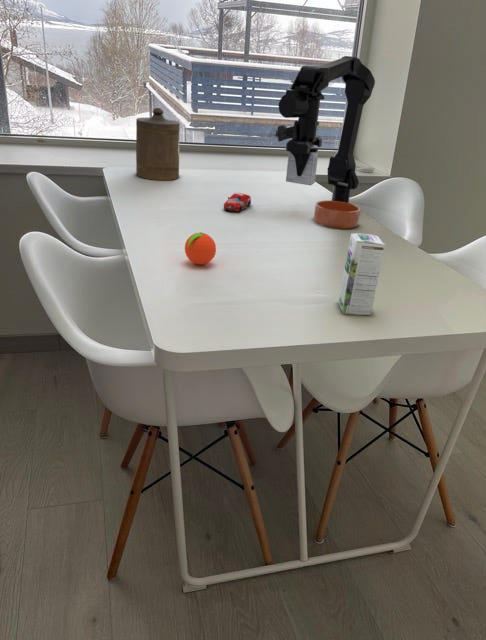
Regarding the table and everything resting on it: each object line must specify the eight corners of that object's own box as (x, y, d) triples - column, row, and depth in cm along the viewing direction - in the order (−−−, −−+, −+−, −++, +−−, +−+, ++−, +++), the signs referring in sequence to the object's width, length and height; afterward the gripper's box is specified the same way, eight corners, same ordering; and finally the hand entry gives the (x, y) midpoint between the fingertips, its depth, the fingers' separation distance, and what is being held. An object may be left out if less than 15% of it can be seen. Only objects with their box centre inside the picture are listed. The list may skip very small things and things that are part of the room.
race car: (237, 214, 171) (238, 200, 169) (220, 211, 173) (221, 197, 171) (253, 205, 182) (254, 192, 180) (237, 202, 184) (238, 189, 182)
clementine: (199, 272, 126) (200, 240, 122) (174, 264, 129) (175, 232, 125) (221, 264, 132) (223, 233, 128) (197, 256, 135) (198, 226, 131)
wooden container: (187, 177, 209) (188, 110, 198) (159, 182, 198) (159, 111, 187) (156, 169, 215) (156, 104, 204) (127, 174, 204) (125, 105, 193)
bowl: (318, 214, 180) (321, 198, 178) (360, 221, 177) (363, 205, 175) (309, 224, 169) (311, 207, 166) (353, 232, 166) (356, 214, 164)
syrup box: (337, 303, 118) (349, 232, 111) (365, 304, 119) (379, 234, 112) (342, 314, 113) (355, 241, 106) (372, 316, 114) (386, 243, 107)
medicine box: (314, 183, 173) (318, 153, 169) (310, 186, 170) (314, 154, 165) (289, 179, 175) (293, 149, 171) (285, 181, 172) (288, 150, 167)
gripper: (289, 111, 173) (283, 166, 181) (270, 115, 157) (265, 175, 165) (325, 116, 171) (318, 171, 178) (310, 121, 155) (303, 181, 163)
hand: (301, 174), depth 171 cm, fingers closed on medicine box, 4 cm apart
